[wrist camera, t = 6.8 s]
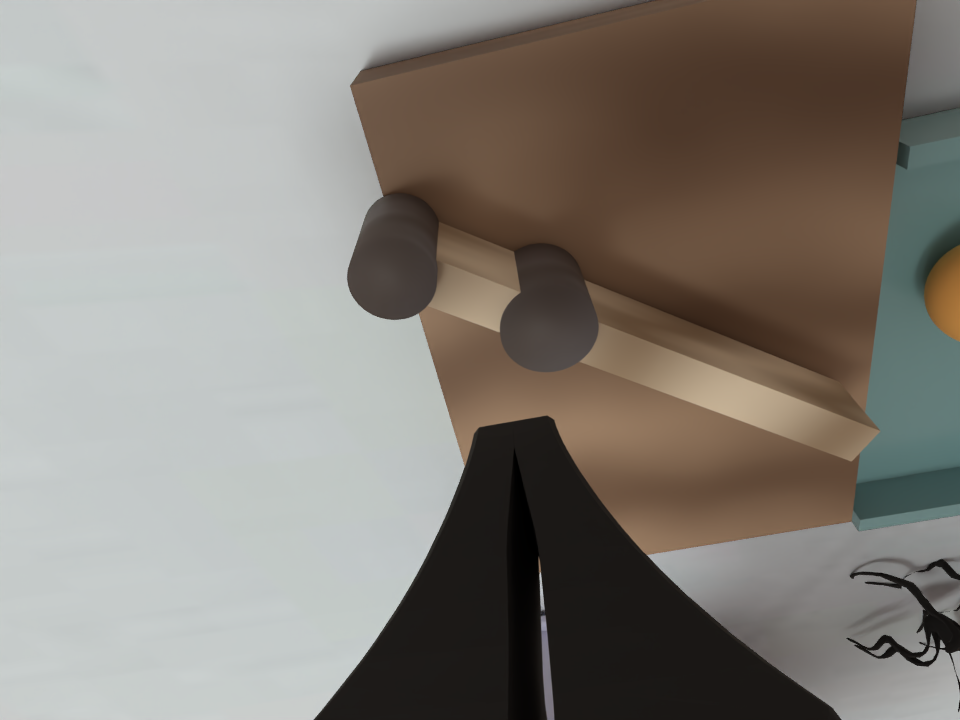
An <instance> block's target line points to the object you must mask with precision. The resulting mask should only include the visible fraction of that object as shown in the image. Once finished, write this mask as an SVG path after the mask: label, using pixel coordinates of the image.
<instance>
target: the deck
mask: <svg viewBox="0 0 960 720" xmlns="http://www.w3.org/2000/svg"><path fill="white" fill-rule="evenodd" d="M916 1H917V0H655V1H651V2H647V3H642V4H638V5H634V6H630V7H626V8H622V9H617V10H613V11H609V12H605V13H601V14H597V15H592V16H588V17H584V18H580V19H576V20H571V21H567V22H563V23H559V24H555V25H551V26H546V27H542V28H538V29H534V30H530V31H526V32H521V33H517V34H513V35H509V36H505V37H501V38H496V39H492V40H488V41H484V42H480V43H475V44H471V45H467V46H463V47H459V48H455V49H450V50H446V51H442V52H438V53H434V54H430V55H425V56H421V57H417V58H413V59H409V60H405V61H400V62H396V63H392V64H388V65H384V66H379V67H375V68H371V69H367V70H363V71H360V73H359V74H358V76H357V77H356V78H355V80H354V81H353V82H352V84H351V85H350V87H351V90H352V94H353V97H354V100H355V104H356V107H357V110H358V113H359V117H360V120H361V123H362V127H363V130H364V133H365V137H366V140H367V143H368V147H369V150H370V153H371V157H372V160H373V163H374V167H375V170H376V173H377V176H378V180H379V183H380V186H381V190H382V193H383V196H387V195H390V194H395V193H405V194H410V195H413V196H416V197H418V198H420V199H422V200H423V201H425V202H426V203H427V204H428V205H429V206H430V207H431V208H432V209H433V211H434V212H435V214H436V216H437V218H438V220H439V222H441V223H443V224H446V225H448V226H451V227H453V228H456V229H458V230H461V231H463V232H466V233H468V234H471V235H473V236H476V237H478V238H481V239H483V240H486V241H488V242H491V243H493V244H496V245H498V246H501V247H503V248H506V249H508V250H511V251H513V252H514V251H516V250H518V249H520V248H522V247H524V246H527V245H531V244H538V243H545V244H552V245H555V246H558V247H560V248H562V249H564V250H566V251H567V252H569V253H570V254H571V255H572V256H573V257H574V258H575V260H576V261H577V263H578V265H579V267H580V269H581V272H582V275H583V278H584V280H586V281H588V282H591V283H593V284H596V285H598V286H601V287H603V288H606V289H608V290H611V291H613V292H616V293H618V294H621V295H623V296H626V297H628V298H631V299H633V300H636V301H638V302H641V303H643V304H646V305H648V306H651V307H653V308H656V309H658V310H661V311H663V312H666V313H668V314H671V315H673V316H676V317H678V318H681V319H683V320H686V321H688V322H691V323H693V324H696V325H698V326H701V327H703V328H706V329H708V330H711V331H713V332H716V333H718V334H721V335H723V336H726V337H728V338H731V339H733V340H736V341H738V342H741V343H743V344H746V345H748V346H751V347H753V348H756V349H758V350H761V351H763V352H766V353H768V354H771V355H773V356H776V357H778V358H781V359H783V360H786V361H788V362H791V363H793V364H796V365H798V366H801V367H803V368H806V369H808V370H811V371H813V372H816V373H818V374H821V375H823V376H826V377H828V378H831V379H833V380H836V381H838V382H840V383H841V385H842V386H843V387H844V388H845V389H846V391H847V392H848V393H849V394H850V395H851V397H852V398H853V399H854V400H855V401H856V402H857V404H858V405H859V406H860V407H861V408H862V410H863V411H864V412H865V410H866V402H867V394H868V386H869V378H870V370H871V362H872V354H873V346H874V338H875V330H876V322H877V314H878V306H879V298H880V290H881V282H882V274H883V266H884V258H885V250H886V242H887V234H888V226H889V218H890V210H891V202H892V194H893V186H894V178H895V170H896V162H897V154H898V146H899V138H900V130H901V122H902V114H903V106H904V98H905V89H906V81H907V73H908V65H909V57H910V49H911V41H912V33H913V25H914V17H915V9H916ZM419 316H420V319H421V322H422V326H423V329H424V332H425V336H426V339H427V342H428V346H429V349H430V352H431V355H432V359H433V362H434V365H435V369H436V372H437V375H438V379H439V382H440V385H441V389H442V392H443V395H444V399H445V402H446V405H447V408H448V412H449V415H450V418H451V422H452V425H453V428H454V432H455V435H456V438H457V442H458V445H459V448H460V452H461V455H462V458H463V462H464V465H466V462H467V459H468V455H469V452H470V448H471V445H472V440H473V436H474V433H475V432H476V430H477V429H478V428H479V427H483V426H489V425H495V424H500V423H506V422H512V421H518V420H523V419H529V418H535V417H541V416H546V415H547V416H549V417H551V418H552V419H554V420H555V424H556V427H557V429H558V432H559V434H560V436H561V439H562V441H563V443H564V445H565V446H566V448H567V450H568V452H569V454H570V455H571V457H572V459H573V460H574V462H575V464H576V465H577V467H578V469H579V470H580V472H581V473H582V475H583V476H584V478H585V479H586V481H587V482H588V483H589V485H590V486H591V488H592V489H593V491H594V492H595V493H596V495H597V496H598V498H599V499H600V500H601V502H602V503H603V504H604V506H605V507H606V508H607V510H608V511H609V512H610V513H611V515H612V516H613V517H614V518H615V519H616V521H617V522H618V523H619V524H620V526H621V527H622V528H623V529H624V530H625V532H626V533H627V534H628V535H629V536H630V537H631V539H632V540H633V541H634V542H635V543H636V544H637V545H638V546H639V548H640V549H641V550H642V551H643V552H644V553H645V554H646V555H649V554H655V553H661V552H667V551H673V550H679V549H686V548H692V547H698V546H704V545H710V544H716V543H722V542H729V541H735V540H741V539H747V538H753V537H759V536H765V535H771V534H778V533H784V532H790V531H796V530H802V529H808V528H814V527H821V526H827V525H833V524H839V523H845V522H851V521H852V514H853V506H854V498H855V490H856V482H857V474H858V466H859V458H860V453H859V454H858V455H857V456H856V457H855V459H854V460H853V461H852V462H851V461H849V460H846V459H843V458H841V457H838V456H835V455H832V454H830V453H827V452H824V451H821V450H819V449H816V448H813V447H811V446H808V445H805V444H802V443H800V442H797V441H794V440H791V439H789V438H786V437H783V436H781V435H778V434H775V433H772V432H770V431H767V430H764V429H761V428H759V427H756V426H753V425H751V424H748V423H745V422H742V421H740V420H737V419H734V418H731V417H729V416H726V415H723V414H721V413H718V412H715V411H712V410H710V409H707V408H704V407H701V406H699V405H696V404H693V403H691V402H688V401H685V400H682V399H680V398H677V397H674V396H672V395H669V394H666V393H663V392H661V391H658V390H655V389H652V388H650V387H647V386H644V385H642V384H639V383H636V382H633V381H631V380H628V379H625V378H622V377H620V376H617V375H614V374H612V373H609V372H606V371H603V370H601V369H598V368H595V367H592V366H590V365H587V364H584V363H582V362H578V363H576V364H575V365H573V366H571V367H569V368H566V369H564V370H560V371H555V372H537V371H532V370H529V369H526V368H524V367H522V366H520V365H518V364H517V363H516V362H514V361H513V360H512V359H511V358H510V357H509V356H508V354H507V353H506V352H505V350H504V348H503V345H502V342H501V337H500V332H497V331H494V330H492V329H489V328H486V327H483V326H481V325H478V324H475V323H472V322H470V321H467V320H464V319H462V318H459V317H456V316H453V315H451V314H448V313H445V312H442V311H440V310H437V309H434V308H432V307H429V306H427V307H426V308H425V309H424V310H422V311H421V312H420V313H419ZM539 572H541V567H540V560H539Z"/></svg>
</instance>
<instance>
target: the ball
mask: <svg viewBox="0 0 960 720" xmlns="http://www.w3.org/2000/svg"><path fill="white" fill-rule="evenodd" d="M924 301H925V306H926V309H927V312H928V314H929V316H930V318H931V320H932V321H933V322H934V324H935V325H936V326H937V327H938V328H939V329H940V330H941V331H942V332H944V333H945V334H946V335H948V336H949V337H951V338H953V339H955V340H957V341H959V342H960V245H958V246H956V247H955V248H953V249H951V250H950V251H948V252H947V253H946V254H945V255H944V256H942V257H941V258H940V259H939V260H938V262H937V263H936V264H935V265H934V267H933V268H932V270H931V271H930V273H929V275H928V277H927V280H926V283H925V289H924Z"/></svg>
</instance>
